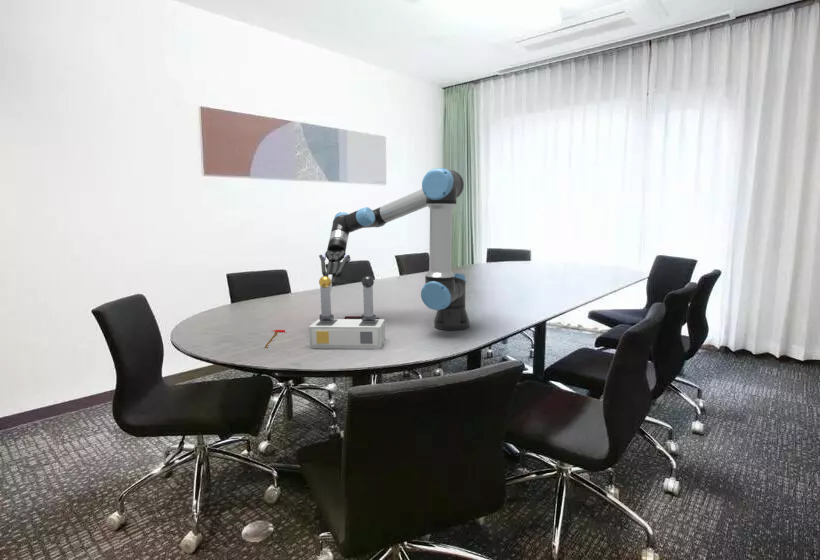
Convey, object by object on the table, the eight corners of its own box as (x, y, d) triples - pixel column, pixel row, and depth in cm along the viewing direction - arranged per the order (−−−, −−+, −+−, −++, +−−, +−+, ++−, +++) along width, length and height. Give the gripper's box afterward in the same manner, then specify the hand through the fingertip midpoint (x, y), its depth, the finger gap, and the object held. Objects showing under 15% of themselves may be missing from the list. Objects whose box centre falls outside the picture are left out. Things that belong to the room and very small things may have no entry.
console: (385, 339, 171) (384, 318, 170) (380, 349, 159) (379, 326, 158) (319, 338, 173) (318, 318, 172) (309, 348, 161) (308, 326, 160)
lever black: (376, 319, 166) (375, 275, 164) (374, 322, 162) (373, 276, 160) (363, 319, 167) (362, 275, 164) (361, 322, 162) (360, 276, 160)
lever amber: (334, 319, 168) (332, 275, 165) (331, 322, 163) (329, 277, 161) (322, 319, 168) (320, 275, 166) (318, 322, 164) (316, 277, 161)
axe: (293, 331, 187) (271, 330, 188) (293, 329, 187) (271, 328, 188) (267, 350, 162) (241, 349, 163) (267, 347, 162) (241, 347, 163)
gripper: (354, 249, 187) (346, 295, 174) (324, 249, 189) (314, 295, 175) (351, 237, 181) (343, 284, 168) (320, 237, 183) (309, 284, 169)
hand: (328, 290), depth 171 cm, fingers closed
